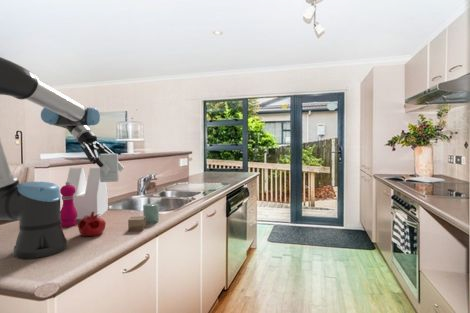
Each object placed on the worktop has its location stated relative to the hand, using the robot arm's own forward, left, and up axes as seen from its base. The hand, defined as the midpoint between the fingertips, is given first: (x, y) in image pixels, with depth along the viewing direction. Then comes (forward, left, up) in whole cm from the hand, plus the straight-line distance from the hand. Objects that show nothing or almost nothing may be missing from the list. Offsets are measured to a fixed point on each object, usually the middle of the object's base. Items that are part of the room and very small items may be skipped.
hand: (115, 170), depth 128 cm
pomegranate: (-15, +2, -25) cm, 29 cm away
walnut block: (-6, -13, -25) cm, 29 cm away
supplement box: (0, +3, -5) cm, 6 cm away
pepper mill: (-4, +21, -25) cm, 33 cm away
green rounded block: (+6, -14, -25) cm, 29 cm away
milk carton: (+17, +26, -25) cm, 40 cm away
